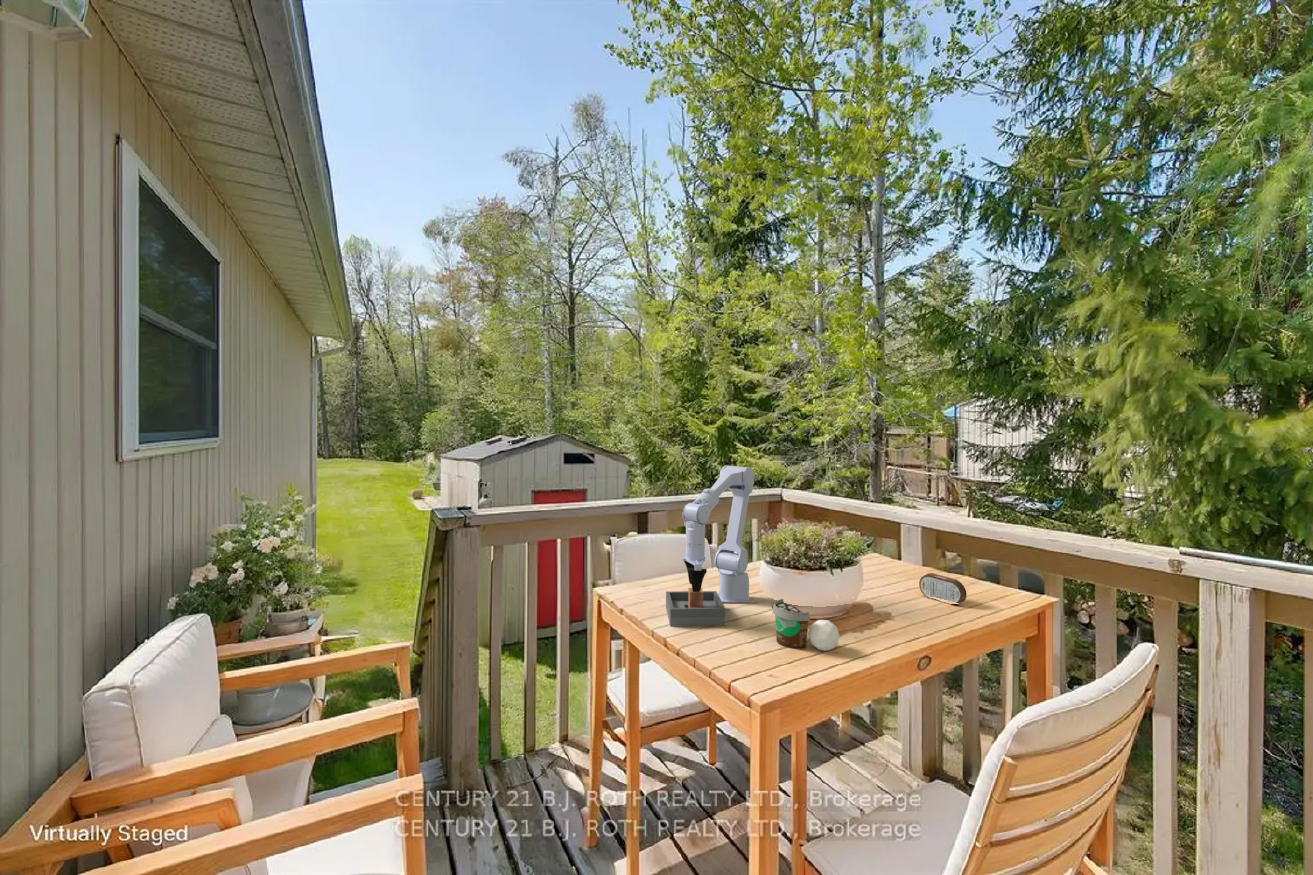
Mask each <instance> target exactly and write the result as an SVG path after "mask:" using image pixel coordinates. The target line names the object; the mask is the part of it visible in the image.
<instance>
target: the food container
mask: <svg viewBox="0 0 1313 875" xmlns="http://www.w3.org/2000/svg"><path fill="white" fill-rule="evenodd" d="M772 614H774V619H775V620H774V621H775V635H776V642H777V644H778V645H780V646H782V647H784V648H789V649H793V650H794V649H795V650H796V649H797V650H801V649H806V648H807V640H808V639H807V637H808V631H809V630H808V629H809V621H811V618H810V617H811V616H810V615H811V614H810V612H809V611H807V612H804V611H801V610H800V609H798V608H797V607H795V606H792V605H790V604H787V603H786V602H784V598H780V599H778V600H775V602H774V604H773V607H772Z"/></svg>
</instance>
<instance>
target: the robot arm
mask: <svg viewBox="0 0 1313 875" xmlns="http://www.w3.org/2000/svg"><path fill="white" fill-rule="evenodd" d="M754 482H755V473H754V471H753V469H752V467H751V466H736V465H734V466H733V465H729V464H725V465H724V466H723V467H722V468H721V469H720V471H719V477H718V479H717V480H716V481H715V483H713V485H712V486H711V488H704V489H703V490H702V492H701V493H700V494H699V495H698V496H697V497H696V499H694V500H693V502H689V503H687V504H685V506H684V507H683V510H682V512H681V517H682V520H683V522H684V523H683V524H684V525H683V526H684V527H685V556H682V557H681V560H682V561H683V562H684V564H685V566H686V570H687V576H688V582H689V584H690V585H691V588H692V590H693V592H700V590H701V588H702V586H703V580H704V578H705V576H706V574H707V572H708V570H707V568H702V567H703V564H704V562H705V561H706V557H705V556H706V555H705V554H706V553H705V552H706V549H705V546H706V537H705V536H706V523H708V521H709V519H710V514H712V510H713V509H714V508H715V507H716V505H717V504H718V503H720V496H721V495H722V494H723V493H724V492H725V491H727V490H728V491H729V492H731V494H732V495H733V497H732V502H731V509H730V514H729V519H728V528H727V531H726V540H725V541H724V542H723V543H722V544H720V545H718V548H717V552H716V554H715V556H714V566H715V568H716V569H717V572H718V573H719V593H717V594H718V595H719V597H720V599H721V601H722V603H723V604H727V603H728V604H729V603H749V602H750V599H749V598H750V578H749V574H748V572H747V571H746V570H747V569H748V564H749V562H748V556H749V554H748V553H749V552H748V550H747V549H746V548H745V546H744V545H742V541H743V535H744V529H745V524H746V519H747V518H746V517H747V511H748V504H749V500H750V495H751V494H752V493H753V490H754Z"/></svg>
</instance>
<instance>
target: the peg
mask: <svg viewBox="0 0 1313 875" xmlns="http://www.w3.org/2000/svg"><path fill="white" fill-rule="evenodd" d="M703 591H704V590H703V588H702V587H701V590H700V592H693V590H692V587H688V608H703Z"/></svg>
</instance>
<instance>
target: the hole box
mask: <svg viewBox="0 0 1313 875" xmlns="http://www.w3.org/2000/svg"><path fill="white" fill-rule="evenodd" d="M718 594H719V593H718V592H717V591H716V590H703V608H688V591H686V590H683V591H681V590H680V591H677V590H675V591H665V609H666V614H667V618H668V623H669V626H670V627H711V626H713V627H717V626H718V627H720V626H721V627H722V626H723V627H724V626H726V606H725V605H724V603H722V601H721V599H720V597H719V595H718Z"/></svg>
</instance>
